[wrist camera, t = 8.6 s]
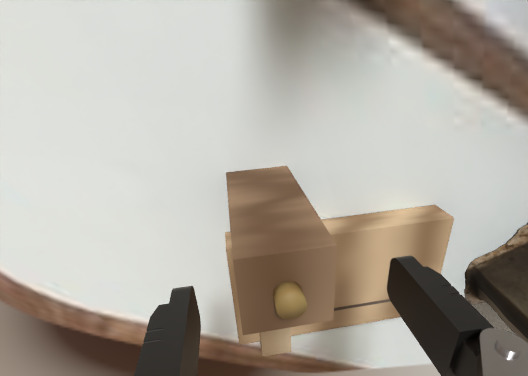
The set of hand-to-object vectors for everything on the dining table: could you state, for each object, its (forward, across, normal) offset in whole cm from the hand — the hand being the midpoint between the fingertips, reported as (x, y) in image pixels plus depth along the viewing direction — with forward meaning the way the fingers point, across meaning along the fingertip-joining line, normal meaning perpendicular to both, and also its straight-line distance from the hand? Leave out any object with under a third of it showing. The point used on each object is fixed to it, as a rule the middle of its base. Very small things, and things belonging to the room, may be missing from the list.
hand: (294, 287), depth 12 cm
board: (+9, -5, +7) cm, 13 cm away
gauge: (+9, 0, +4) cm, 10 cm away
